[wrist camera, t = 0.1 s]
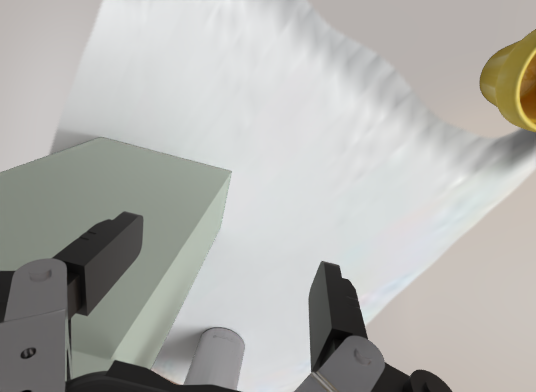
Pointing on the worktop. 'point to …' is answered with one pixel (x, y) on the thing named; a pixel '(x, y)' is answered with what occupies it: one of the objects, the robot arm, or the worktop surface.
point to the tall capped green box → (109, 207)
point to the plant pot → (513, 82)
